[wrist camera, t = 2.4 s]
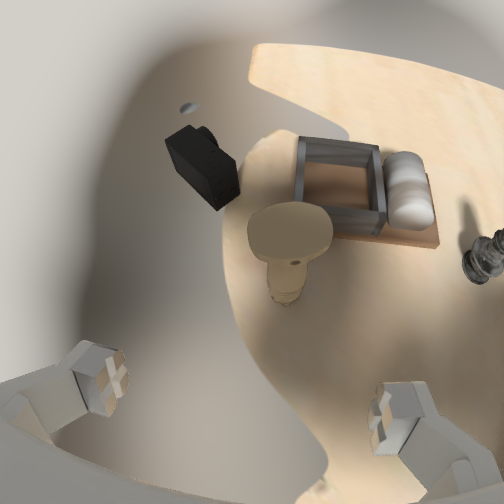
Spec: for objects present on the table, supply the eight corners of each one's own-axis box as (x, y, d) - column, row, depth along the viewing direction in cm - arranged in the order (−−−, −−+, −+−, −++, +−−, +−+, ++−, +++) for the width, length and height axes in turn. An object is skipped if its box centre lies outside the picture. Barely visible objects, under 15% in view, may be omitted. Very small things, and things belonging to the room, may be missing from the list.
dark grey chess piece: (487, 249, 38) (532, 205, 27) (494, 287, 35) (545, 249, 24) (457, 246, 38) (500, 198, 27) (463, 285, 36) (513, 245, 25)
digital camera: (248, 189, 44) (243, 155, 38) (217, 212, 43) (208, 180, 37) (204, 152, 48) (196, 119, 42) (176, 171, 47) (163, 139, 40)
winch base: (435, 249, 38) (457, 223, 32) (291, 233, 41) (293, 203, 35) (423, 179, 43) (439, 150, 37) (297, 162, 46) (299, 129, 40)
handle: (255, 277, 38) (244, 207, 25) (308, 270, 38) (325, 198, 25) (260, 316, 36) (251, 264, 23) (315, 309, 36) (339, 252, 23)
